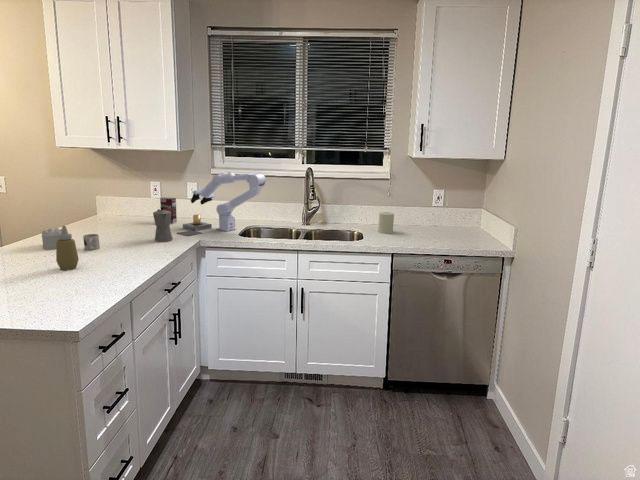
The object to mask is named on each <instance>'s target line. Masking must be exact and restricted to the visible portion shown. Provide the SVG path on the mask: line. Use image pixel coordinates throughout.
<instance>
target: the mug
mask: <svg viewBox="0 0 640 480" xmlns="http://www.w3.org/2000/svg"><path fill="white" fill-rule="evenodd" d="M82 238H83V247H84V251H98V250H99V249H100V248H101V247H100V239H99V238H100V235H99V234H96V233H89V234H83V237H82Z"/></svg>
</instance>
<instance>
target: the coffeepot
mask: <svg viewBox="0 0 640 480" xmlns="http://www.w3.org/2000/svg"><path fill="white" fill-rule="evenodd" d="M159 208H160V209H159ZM159 208H158V209H157V211H156V210H155V211H153V212H152V215H153V221H154V223H155V226H156V228H155V235H154V241H155V242H158V243H167V242H171V241H173V234H172V230H171V227H170V225H171V224H170V221H171V212H170V211H165V210H163V208H164V207H161V206H160V207H159Z"/></svg>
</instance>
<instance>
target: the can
mask: <svg viewBox="0 0 640 480" xmlns="http://www.w3.org/2000/svg"><path fill="white" fill-rule="evenodd" d="M394 220H395V213H394V212H390V211H389V212H388V211H382V212H378V227H377V228H378V230H377V232H378V233H379V234H387V235H388V234H393V233H394V222H395V221H394Z"/></svg>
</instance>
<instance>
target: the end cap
mask: <svg viewBox="0 0 640 480" xmlns="http://www.w3.org/2000/svg"><path fill="white" fill-rule="evenodd" d="M192 219H193V221H192V223H193V225H201V222H202V220H201V219H202V217H201V214H193V215H192Z"/></svg>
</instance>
